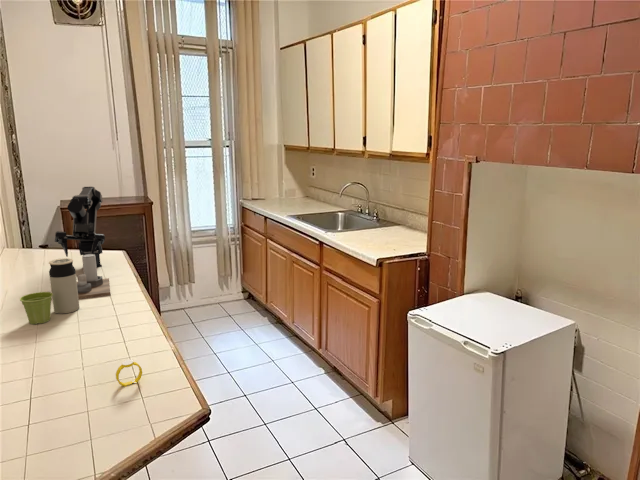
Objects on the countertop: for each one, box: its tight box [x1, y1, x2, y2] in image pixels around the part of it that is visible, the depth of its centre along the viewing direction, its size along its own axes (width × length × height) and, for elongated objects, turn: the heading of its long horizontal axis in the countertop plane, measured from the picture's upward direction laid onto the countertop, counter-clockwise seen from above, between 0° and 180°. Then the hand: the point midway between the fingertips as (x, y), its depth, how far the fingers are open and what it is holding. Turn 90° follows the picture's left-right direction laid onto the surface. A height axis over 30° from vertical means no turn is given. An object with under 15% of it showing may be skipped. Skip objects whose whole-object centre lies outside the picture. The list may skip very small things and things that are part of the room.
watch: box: [115, 359, 143, 387], centre depth 117 cm, size 6×3×6 cm, turn 126°
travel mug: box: [48, 257, 80, 315], centre depth 165 cm, size 8×8×18 cm
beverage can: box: [81, 254, 99, 281], centre depth 191 cm, size 5×5×12 cm
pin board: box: [76, 273, 112, 300], centre depth 187 cm, size 20×16×8 cm
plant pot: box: [19, 291, 53, 325], centre depth 156 cm, size 9×9×9 cm
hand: (79, 256), depth 198 cm, fingers open, 9 cm apart
